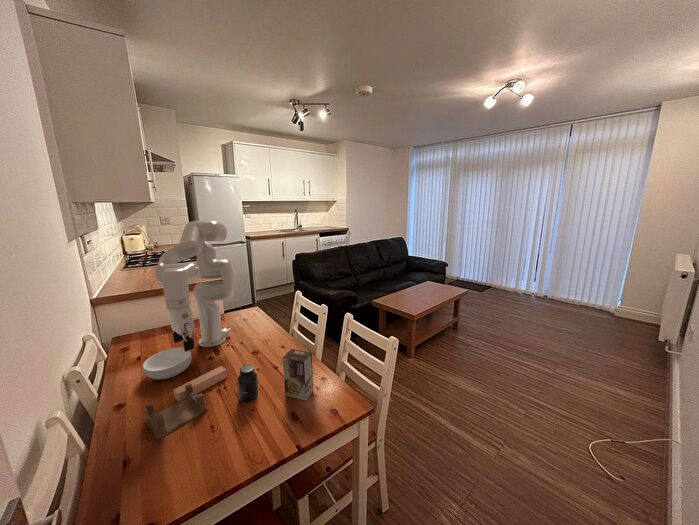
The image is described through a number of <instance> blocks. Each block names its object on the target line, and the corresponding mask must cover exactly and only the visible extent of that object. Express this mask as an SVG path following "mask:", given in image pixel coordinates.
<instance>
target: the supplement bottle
mask: <svg viewBox="0 0 699 525" xmlns="http://www.w3.org/2000/svg"><path fill="white" fill-rule="evenodd" d="M258 379H259V378H258V374H257V373H256V371H255V367H254V366H253V365H252V364H246V365H243V366H241V367H240V369H239V375H238V377H237V389H238V392H237V393H238V400H239V401H240V402H242V403H245V404H249V403H252V402H254V401H256V399H257V398H258V396H259V382H258Z"/></svg>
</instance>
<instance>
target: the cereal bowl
mask: <svg viewBox="0 0 699 525" xmlns="http://www.w3.org/2000/svg"><path fill="white" fill-rule="evenodd" d="M191 351H192V350H189V351H187V352H185V351H184V347H173V348H168V349H165V350H162V351H159V352H157V353H155V354H153V355H151V356H150V357H148V358H147V359H146V360H145V361H144V362H143V363H142V370H143V372H144V374H145V375H146V376H147V377H148V378H150V379H152V380H165V379H166V380H167V379H171V378H174V377H176V376H177V375H180V374H181V373H183V372H184V371H185V370H186V369H188V367H189V366H190V365H191V362H192V352H191Z"/></svg>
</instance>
